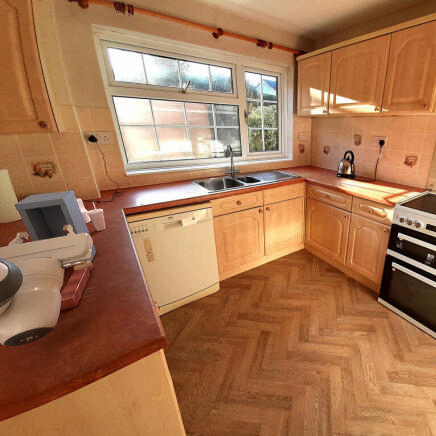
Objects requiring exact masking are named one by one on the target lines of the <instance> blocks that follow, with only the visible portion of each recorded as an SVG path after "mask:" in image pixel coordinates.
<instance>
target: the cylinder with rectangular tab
mask: <svg viewBox="0 0 436 436" xmlns="http://www.w3.org/2000/svg"><path fill="white" fill-rule="evenodd" d="M82 199H83V198H76V200H77V202H78V205H79V208H80V210H81V213H82V216H83V218H84V221H85V223H86V224H88V223H90V222H92V221H91V219H90V217H89V215H87V212H88V209H86V208H85V205H84V202H83V200H82Z"/></svg>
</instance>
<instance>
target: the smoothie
mask: <svg viewBox="0 0 436 436" xmlns="http://www.w3.org/2000/svg"><path fill="white" fill-rule="evenodd" d="M91 203H92V205H93V208H94V209H90V210H87V215H89V217H90V220H91V221H90V222H91V223H92V224H93V226H94V228H95V230H96V231H97V232H99V231H103V230H104V231H105V230H106V228H107V227H106V223H105V222H106V221H105V217H104V210H103V208H97V207H96V204H95V202H94V201H93V202H91Z"/></svg>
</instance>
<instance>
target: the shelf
mask: <svg viewBox="0 0 436 436" xmlns="http://www.w3.org/2000/svg"><path fill="white" fill-rule="evenodd" d="M76 199H77V197H76V194H75V191H74V190H64V191H55V192H47V193H41V194H40V193H38V194H30V195H29V196H26V197H24V198H23V199H21V200H20V201H18V202H16V203H15V204H13V206H14V208H15V209H16V211H17V212H18V214H19V216H20V219H21V220H22V223H23V224H24V226H25V228H26V231H27V234H28V236H29V237H30V239H31V242H34V241H40V240H45V239H51V238H57V237H62V236H67V234H68V233H67V234H66V233H65V231H63V228H64V227H63V226H65V225H71V226H72V228H73V232H74V233H75V234H80V233H87V234H88V235H90V236H91V234H90V231H89V228H88V226H87V223H85V221H84V218H83V216H82V213H81V210H80V208H79V205H78V202H77V200H76ZM91 251H92V258H91V259H90V260H89V261H91V262H92V261H93V259H94V257H95V256H96V253H97V250H96V247H95V244H94V243H93V245H92V250H91Z"/></svg>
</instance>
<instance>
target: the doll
mask: <svg viewBox="0 0 436 436" xmlns="http://www.w3.org/2000/svg"><path fill="white" fill-rule="evenodd" d="M92 269H93V262H92V261H87V262H85V264H82V265H76V266H73V272H72V274H71V275H70V277H69V279H68V280H67V283H66V285H65V286H64V287H63V289H62V292H60V294H61V307H60V312H61V311H65V310H68V309H73V308H75V307H77V306H78V304H79V302H80V299H81V297H82V294H83V292H84V290H85V288H86V285H87V283H88V280H89V278H90V277H91V273H90V271H92Z"/></svg>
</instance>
